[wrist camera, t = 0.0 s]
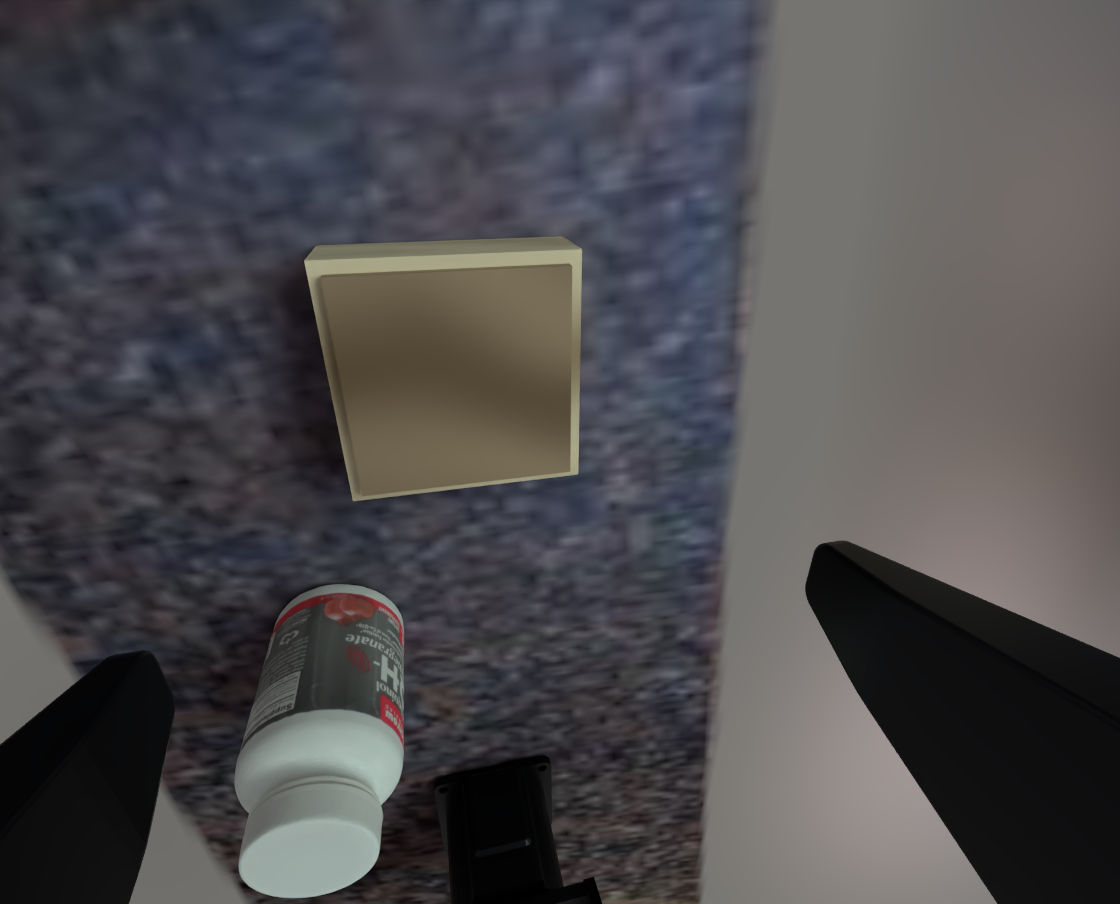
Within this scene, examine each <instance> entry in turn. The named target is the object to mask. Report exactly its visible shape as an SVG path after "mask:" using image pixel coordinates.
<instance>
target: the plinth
mask: <svg viewBox="0 0 1120 904" xmlns="http://www.w3.org/2000/svg"><path fill="white" fill-rule="evenodd" d="M304 263H305V268H306V273H307V277H308V282H309V287H310V292H311V297H312V302H313V307H314V312H315V317H316V322H317V327H318V332H319V336H320V341H321V346H322V351H323V356H324V361H325V366H326V371H327V376H328V381H329V386H330V390H331V395H332V400H333V405H334V410H335V415H336V420H337V425H338V430H339V435H340V440H341V445H342V449H343V454H344V459H345V464H346V469H347V474H348V479H349V484H350V489H351V494H352V499H353V501H359V500H368V499H376V498H385V497H393V496H401V495H410V494H418V493H426V492H435V491H443V490H451V489H460V488H468V487H476V486H485V485H493V484H502V483H510V482H518V481H527V480H535V479H543V478H552V477H560V476H568V475H577V474H578V453H579V393H580V334H581V275H582V249H581V248H579V247H578V246H576V245H575V244H573V243H572V242H570V241H569V240H567V239H566V238H564V237H563V236H561V237H533V238H506V239H478V240H451V241H423V242H395V243H368V244H340V245H316V246H315V248H314V249H313V250H312V251H311V253H310V254H309V255H308V256H307V258H306V259H305V260H304Z"/></svg>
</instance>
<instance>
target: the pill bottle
mask: <svg viewBox="0 0 1120 904" xmlns="http://www.w3.org/2000/svg"><path fill="white" fill-rule="evenodd" d="M403 701H404V627H403V620H402V617H401V614H400V612H399V611H398V609H397V607H396V606H395V605H394V604H393V603H392V602H391V601H390V600H389V599H388V598H387V597H386V596H384V595H382V594H380V593H379V592H377V591H374V590H372V589H369V588H366V587H364V586H356V585H349V584H332V585H326V586H320V587H318V588H315V589H312V590H310V591H307V592H305V593H302V594H300V595H299V596H297V597H296V598H295V599H293V600H292V601H291V602H290V603H289V604H288V605H287V606H286V607H285V608H284V610H283V611H282V612H281V614H280V615H279V617H278V619H277V621H276V624H275V627H274V630H273V633H272V637H271V640H270V643H269V647H268V651H267V655H266V658H265V662H264V665H263V670H262V673H261V677H260V680H259V684H258V688H257V692H256V696H255V700H254V703H253V707H252V710H251V713H250V717H249V721H248V724H247V728H246V732H245V736H244V739H243V743H242V747H241V750H240V753H239V756H238V759H237V764H236V771H235V790H236V794H237V797H238V799H239V801H240V803H241V805H242V806H243V807H244V809H245V810H246V811H247V812H248V813H249V816H248V820H247V824H246V828H245V833H244V837H243V841H242V846H241V852H240V857H239V873H240V876H241V878H242V879H243V881H244V882H245V883H246V884H247V885H248V886H249V887H251V888H253V889H254V890H256V891H259V892H261V893H263V894H266V895H270V896H275V897H284V898H306V897H314V896H319V895H323V894H327V893H331V892H334V891H337V890H339V889H342V888H344V887H347V886H349V885H351V884H352V883H354V882H355V881H357V880H359V879H360V878H362V877H363V876H364V875H365V874H366V873H368V871H369V870H370V869H371V868H372V867H373V865H374V864H375V862H376V861H377V858H378V855H379V851H380V843H381V828H382V821H383V812H382V808H381V805H382V804H383V803H384V802H385V801H386V800H387V799H388V797H389V796H390V795H391V793H392V792H393V791H394V789H395V787H396V785H397V783H398V781H399V778H400V775H401V772H402V766H403V755H404V734H403V709H404V706H403Z"/></svg>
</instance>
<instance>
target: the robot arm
mask: <svg viewBox="0 0 1120 904" xmlns="http://www.w3.org/2000/svg"><path fill="white" fill-rule="evenodd" d="M805 590H806V596H807V600H808V602H809V604H810V606H811V608H812V610H813V612H814V613H815V615H816V617H817V619H818V621H819V623H820V625H821V626H822V628H823V630H824V632H825V634H826V636H827V638H828V640H829V641H830V643H831V645H832V647H833V649H834V651H835V652H836V654H837V656H838V658H839V660H840V662H841V664H842V666H843V667H844V669H845V671H846V673H847V675H848V677H849V678H850V680H851V682H852V684H853V686H854V687H855V689H856V691H857V693H858V694H859V696H860V697H861V699H862V700H863V702H864V704H865V705H866V707H867V708H868V710H869V711H870V713H871V714H872V716H873V717H874V719H875V720H876V722H877V723H878V725H879V726H880V728H881V729H882V731H883V732H884V734H885V735H886V737H887V738H888V740H889V741H890V743H891V744H892V746H893V747H894V749H895V750H896V752H897V753H898V755H899V756H900V758H901V759H902V761H903V762H904V764H905V765H906V767H907V768H908V770H909V771H910V773H911V774H912V776H913V777H914V779H915V781H916V782H917V784H918V785H919V787H920V788H921V790H922V791H923V792H924V794H925V795H926V797H927V798H928V800H929V802H930V803H931V805H932V806H933V808H934V809H935V810H936V812H937V814H938V815H939V817H940V818H941V819H942V821H943V823H944V824H945V826H946V827H947V829H948V830H949V832H950V833H951V835H952V836H953V838H954V839H955V840H956V842H957V843H958V845H959V847H960V848H961V850H962V851H963V853H964V854H965V856H966V857H967V859H968V860H969V862H970V863H971V865H972V866H973V868H974V869H975V871H976V872H977V874H978V875H979V877H980V878H981V880H982V881H983V883H984V884H985V886H986V887H987V889H988V890H989V892H990V893H991V895H992V896H993V898H994V899H995V901H996V902H997V904H1120V658H1119V657H1116V656H1114V655H1112V654H1109V653H1107V652H1105V651H1102V650H1100V649H1098V648H1095V647H1093V646H1091V645H1088V644H1086V643H1084V642H1081V641H1079V640H1077V639H1074V638H1072V637H1070V636H1067V635H1065V634H1063V633H1060V632H1058V631H1056V630H1053V629H1051V628H1049V627H1046V626H1044V625H1042V624H1039V623H1037V622H1035V621H1032V620H1030V619H1028V618H1025V617H1023V616H1021V615H1018V614H1016V613H1014V612H1011V611H1009V610H1007V609H1004V608H1002V607H1000V606H997V605H995V604H993V603H990V602H988V601H986V600H983V599H981V598H979V597H976V596H974V595H972V594H969V593H967V592H965V591H962V590H960V589H958V588H955V587H953V586H951V585H948V584H946V583H944V582H941V581H939V580H937V579H934V578H932V577H930V576H927V575H925V574H923V573H920V572H918V571H916V570H913V569H911V568H909V567H906V566H904V565H902V564H899V563H897V562H895V561H893V560H890V559H888V558H886V557H883V556H881V555H878V554H876V553H874V552H871V551H869V550H867V549H865V548H862V547H860V546H858V545H855V544H853V543H851V542H848V541H835V542H828V543H823V544H820V545H819V546H818V547H817V548H816V549H815V551H814V554H813V558H812V562H811V566H810V569H809V573H808V577H807V581H806V586H805ZM174 713H175V702H174V697H173V694H172V691H171V689H170V687H169V685H168V683H167V681H166V678H165V676H164V674H163V672H162V670H161V668H160V666H159V664H158V661H157V659H156V658H155V656H154V655H153V654H152V653H151V652H149V651H144V650H142V651H135V652H129V653H123V654H116V655H113V656H110V657H108V658H106V659H105V660H103V661H102V662H100V663H99V664H98V665H97V666H96V667H94V668H93V669H92V670H91V671H89V672H88V673H87V674H86V675H85V676H83V677H82V678H81V679H80V680H78V681H77V682H76V683H75V684H74V685H72V686H71V687H70V688H69V689H67V690H66V691H65V692H64V693H63V694H61V695H60V696H59V697H58V698H56V699H55V700H54V701H53V702H52V703H50V704H49V705H48V706H47V707H46V708H44V709H43V710H42V711H41V712H39V713H38V714H37V715H36V716H35V717H33V718H32V719H31V720H30V721H28V722H27V723H26V724H25V725H24V726H22V727H21V728H20V729H19V730H17V731H16V732H15V733H14V734H13V735H11V736H10V737H9V738H8V739H6V740H5V741H4V742H3V743H2V744H0V904H129V901H130V898H131V895H132V892H133V889H134V886H135V883H136V880H137V877H138V873H139V870H140V867H141V863H142V860H143V857H144V853H145V849H146V846H147V842H148V838H149V834H150V829H151V825H152V821H153V816H154V811H155V806H156V801H157V796H158V792H159V787H160V782H161V777H162V772H163V767H164V762H165V758H166V753H167V748H168V743H169V738H170V733H171V728H172V724H173V719H174ZM434 795H435V801H436V807H437V812H438V818H439V824H440V830H441V835H442V841H443V847H444V850H446V851H448V859H449V876H450V893H451V904H602V901H601V898H600V895H599V892H598V889H597V886H596V883H595V879H594V877H591V878H587V879H583V882H580V883H576V884H573V885H569V886H565V887H564V886H563V881H562V876H561V871H560V867H559V862H558V857H557V852H556V847H555V843H554V838H553V833H552V828H551V823H552V797H551V764H550V760H549V758H548V757H546V756H540V757H535V758H531V759H526V760H521V761H517V762H512V763H508V764H503V765H498V766H494V767H489V768H484V769H480V770H475V771H470V772H466V773H461V774H457V775H452V776H447V777H443V778H439V779H438V780H436V781H435V782H434Z"/></svg>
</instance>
